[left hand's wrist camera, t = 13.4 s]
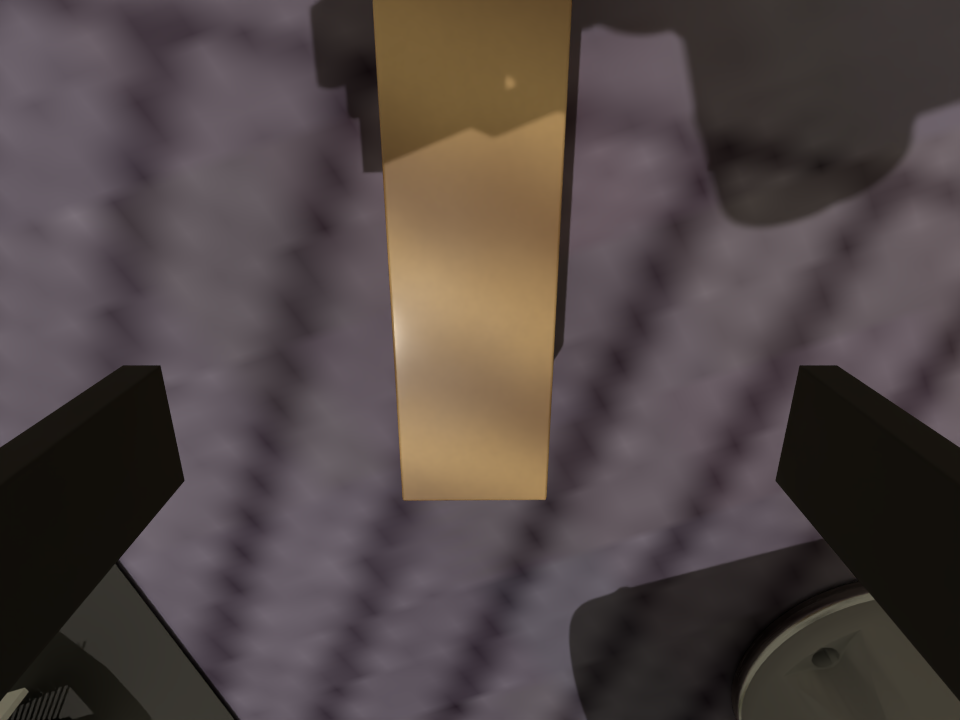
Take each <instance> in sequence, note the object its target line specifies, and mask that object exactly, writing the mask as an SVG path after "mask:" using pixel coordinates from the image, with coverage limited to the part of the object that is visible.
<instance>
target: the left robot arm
mask: <svg viewBox="0 0 960 720" xmlns="http://www.w3.org/2000/svg"><path fill="white" fill-rule="evenodd" d="M183 482H184V476H183V471H182V466H181V462H180V457H179V452H178V447H177V443H176V438H175V433H174V428H173V424H172V419H171V414H170V409H169V404H168V400H167V395H166V390H165V385H164V381H163V376H162V371H161V366H122V367H120V368H119V369H117V370H116V371H114V372H113V373H111V374H110V375H108V376H107V377H105V378H104V379H102V380H101V381H99V382H98V383H96V384H95V385H93V386H92V387H90V388H89V389H87V390H86V391H84V392H83V393H81V394H80V395H78V396H77V397H75V398H74V399H72V400H71V401H69V402H68V403H66V404H65V405H63V406H62V407H60V408H59V409H57V410H56V411H54V412H53V413H51V414H50V415H48V416H47V417H45V418H44V419H42V420H41V421H39V422H38V423H36V424H35V425H33V426H32V427H30V428H29V429H27V430H26V431H24V432H23V433H21V434H20V435H18V436H17V437H15V438H14V439H12V440H11V441H9V442H8V443H6V444H5V445H3V446H2V447H0V701H1V700H2V699H3V698H4V696H5V695H6V694H7V693H8V692H9V690H10V689H11V688H12V687H13V686H14V684H15V683H16V682H17V681H18V680H19V678H20V677H21V676H22V675H23V674H24V672H25V671H26V670H27V669H28V668H29V666H30V665H31V664H32V663H33V662H34V660H35V659H36V658H37V657H38V656H39V654H40V653H41V652H42V651H43V650H44V648H45V647H46V646H47V645H48V644H49V642H50V641H51V640H52V639H53V638H54V636H55V635H56V634H57V633H58V632H59V630H60V629H61V628H62V627H63V626H64V624H65V623H66V622H67V621H68V620H69V618H70V617H71V616H72V615H73V614H74V612H75V611H76V610H77V609H78V608H79V607H80V605H81V604H82V603H83V602H84V601H85V599H86V598H87V597H88V596H89V595H90V593H91V592H92V591H93V590H94V589H95V587H96V586H97V585H98V584H99V583H100V581H101V580H102V579H103V578H104V577H105V575H106V574H107V573H108V572H109V571H110V569H111V568H112V567H113V566H114V565H115V563H116V562H117V561H118V560H119V559H120V557H121V556H122V555H123V554H124V553H125V551H126V550H127V549H128V548H129V547H130V545H131V544H132V543H133V542H134V541H135V539H136V538H137V537H138V536H139V535H140V533H141V532H142V531H143V530H144V529H145V527H146V526H147V525H148V524H149V523H150V521H151V520H152V519H153V518H154V517H155V515H156V514H157V513H158V512H159V511H160V509H161V508H162V507H163V506H164V505H165V504H166V502H167V501H168V500H169V499H170V498H171V496H172V495H173V494H174V493H175V492H176V490H177V489H178V488H179V487H180V486H181V484H182V483H183ZM776 482H777V483H778V484H779V486H780V487H781V488H782V489H783V490H784V492H785V493H786V494H787V495H788V496H789V498H790V499H791V500H792V501H793V502H794V504H795V505H796V506H797V507H798V508H799V509H800V511H801V512H802V513H803V514H804V515H805V517H806V518H807V519H808V520H809V521H810V523H811V524H812V525H813V526H814V527H815V529H816V530H817V531H818V532H819V533H820V535H821V536H822V537H823V538H824V539H825V541H826V542H827V543H828V544H829V545H830V547H831V548H832V549H833V550H834V551H835V553H836V554H837V555H838V556H839V557H840V559H841V560H842V561H843V562H844V563H845V565H846V566H847V567H848V568H849V569H850V571H851V572H852V573H853V574H854V575H855V577H856V578H857V579H858V580H859V581H858V582H854V583H851V584H847V585H843V586H840V587H837V588H834V589H831V590H828V591H826V592H824V593H821V594H819V595H816V596H814V597H812V598H810V599H808V600H806V601H804V602H802V603H801V604H799V605H797V606H795V607H794V608H792V609H790V610H789V611H787V612H786V613H785V614H783V615H782V616H780V617H779V618H778V619H776V620H775V621H774V622H773V623H772V624H770V625H769V626H768V627H767V628H766V629H765V630H764V631H763V632H762V633H761V634H760V635H759V636H758V637H757V638H756V639H755V640H754V642H753V643H752V644H751V645H750V647H749V648H748V650H747V651H746V652H745V654H744V656H743V657H742V659H741V661H740V663H739V665H738V667H737V670H736V672H735V676H734V679H733V684H732V691H731V700H732V708H733V711H734V715H735V718H736V720H960V447H958V446H957V445H955V444H954V443H952V442H951V441H949V440H948V439H946V438H945V437H943V436H942V435H940V434H939V433H937V432H936V431H934V430H933V429H931V428H930V427H928V426H927V425H925V424H924V423H922V422H921V421H919V420H918V419H916V418H915V417H913V416H912V415H910V414H909V413H907V412H906V411H904V410H903V409H901V408H900V407H898V406H897V405H895V404H894V403H892V402H891V401H889V400H888V399H886V398H885V397H883V396H882V395H880V394H879V393H877V392H876V391H874V390H873V389H871V388H870V387H868V386H867V385H865V384H864V383H862V382H861V381H859V380H858V379H856V378H855V377H853V376H852V375H850V374H849V373H847V372H846V371H844V370H843V369H841V368H840V367H838V366H799V371H798V376H797V381H796V385H795V390H794V395H793V400H792V404H791V409H790V414H789V419H788V423H787V428H786V433H785V438H784V443H783V447H782V452H781V457H780V462H779V466H778V471H777V476H776Z"/></svg>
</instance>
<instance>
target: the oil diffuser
mask: <svg viewBox="0 0 960 720" xmlns="http://www.w3.org/2000/svg"><path fill="white" fill-rule="evenodd" d="M0 720H234V719H233V717H232V716H231V715H230V713H229V712H228V711H227V709H226V708H225V707H224V706H223V704H222V703H221V702H220V700H219V699H218V698H217V696H216V695H215V694H214V692H213V691H212V690H211V689H210V687H209V686H208V685H207V683H206V682H205V681H204V679H203V678H202V677H201V675H200V674H199V673H198V672H197V670H196V669H195V668H194V666H193V665H192V664H191V662H190V661H189V660H188V658H187V657H186V656H185V655H184V653H183V652H182V651H181V649H180V648H179V647H178V645H177V644H176V643H175V641H174V640H173V639H172V637H171V636H170V635H169V634H168V632H167V631H166V630H165V628H164V627H163V626H162V624H161V623H160V622H159V620H158V619H157V618H156V617H155V615H154V614H153V613H152V611H151V610H150V609H149V607H148V606H147V605H146V603H145V602H144V601H143V600H142V598H141V597H140V596H139V594H138V593H137V592H136V590H135V589H134V588H133V586H132V585H131V584H130V583H129V581H128V580H127V579H126V577H125V576H124V575H123V573H122V572H121V571H120V569H119V568H118V567H117V566H116V564H115V565H114V566H113V567H112V568H111V569H110V571H109V572H108V573H107V574H106V575H105V577H104V578H103V579H102V580H101V581H100V583H99V584H98V585H97V586H96V587H95V589H94V590H93V591H92V592H91V593H90V595H89V596H88V597H87V598H86V599H85V601H84V602H83V603H82V604H81V605H80V607H79V608H78V609H77V610H76V611H75V612H74V614H73V615H72V616H71V617H70V618H69V620H68V621H67V622H66V623H65V624H64V626H63V627H62V628H61V629H60V630H59V632H58V633H57V634H56V635H55V636H54V638H53V639H52V640H51V641H50V642H49V644H48V645H47V646H46V647H45V648H44V650H43V651H42V652H41V653H40V654H39V656H38V657H37V658H36V659H35V660H34V662H33V663H32V664H31V665H30V666H29V668H28V669H27V670H26V671H25V672H24V674H23V675H22V676H21V677H20V678H19V680H18V681H17V682H16V683H15V684H14V686H13V687H12V688H11V689H10V690H9V692H8V693H7V694H6V695H5V696H4V698H3V699H2V700H1V701H0Z"/></svg>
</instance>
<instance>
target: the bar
mask: <svg viewBox="0 0 960 720" xmlns="http://www.w3.org/2000/svg"><path fill="white" fill-rule="evenodd" d="M372 2H373V18H374V35H375V51H376V68H377V84H378V101H379V117H380V134H381V150H382V167H383V183H384V200H385V216H386V233H387V249H388V266H389V282H390V299H391V315H392V332H393V348H394V365H395V381H396V398H397V414H398V431H399V447H400V464H401V480H402V497H403V500H405V501H406V500H545V499H546V497H547V478H548V458H549V439H550V420H551V400H552V381H553V361H554V342H555V322H556V303H557V284H558V264H559V245H560V225H561V206H562V187H563V167H564V148H565V128H566V109H567V89H568V70H569V51H570V31H571V12H572V0H372Z"/></svg>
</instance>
